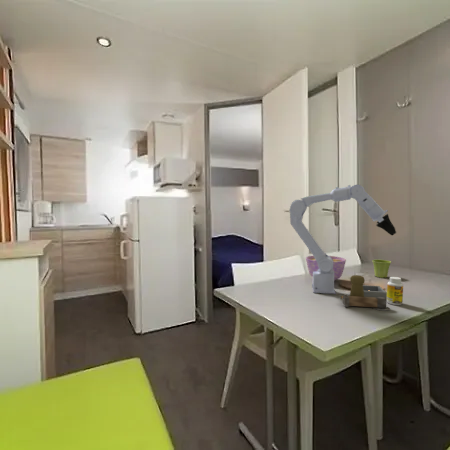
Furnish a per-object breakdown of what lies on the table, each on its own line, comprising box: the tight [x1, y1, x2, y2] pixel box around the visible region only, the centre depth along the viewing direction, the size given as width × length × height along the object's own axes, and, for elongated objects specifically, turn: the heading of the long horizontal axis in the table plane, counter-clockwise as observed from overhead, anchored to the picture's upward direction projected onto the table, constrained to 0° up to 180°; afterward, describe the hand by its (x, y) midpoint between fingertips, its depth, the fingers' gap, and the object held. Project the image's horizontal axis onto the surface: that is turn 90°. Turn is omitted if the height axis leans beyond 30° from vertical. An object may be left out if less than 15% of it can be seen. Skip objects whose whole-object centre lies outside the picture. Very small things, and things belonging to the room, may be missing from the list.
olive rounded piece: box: [349, 274, 366, 297], centre depth 123 cm, size 6×6×11 cm
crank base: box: [371, 306, 391, 312], centre depth 117 cm, size 6×6×1 cm
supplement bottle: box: [386, 276, 404, 306], centre depth 123 cm, size 6×6×10 cm
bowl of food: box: [305, 255, 347, 281], centre depth 161 cm, size 20×20×12 cm
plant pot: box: [371, 259, 392, 279], centre depth 171 cm, size 9×9×9 cm
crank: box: [342, 294, 388, 309], centre depth 118 cm, size 15×5×3 cm, turn 78°
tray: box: [363, 284, 387, 299], centre depth 135 cm, size 11×11×3 cm
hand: (393, 232), depth 130 cm, fingers open, 7 cm apart
